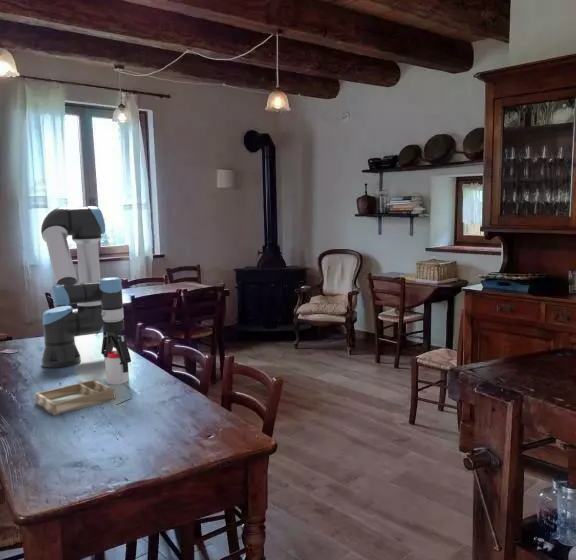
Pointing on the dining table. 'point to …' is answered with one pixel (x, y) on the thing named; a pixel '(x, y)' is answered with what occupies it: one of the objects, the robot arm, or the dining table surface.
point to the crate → (74, 397)
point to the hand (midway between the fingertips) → (117, 377)
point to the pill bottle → (113, 368)
